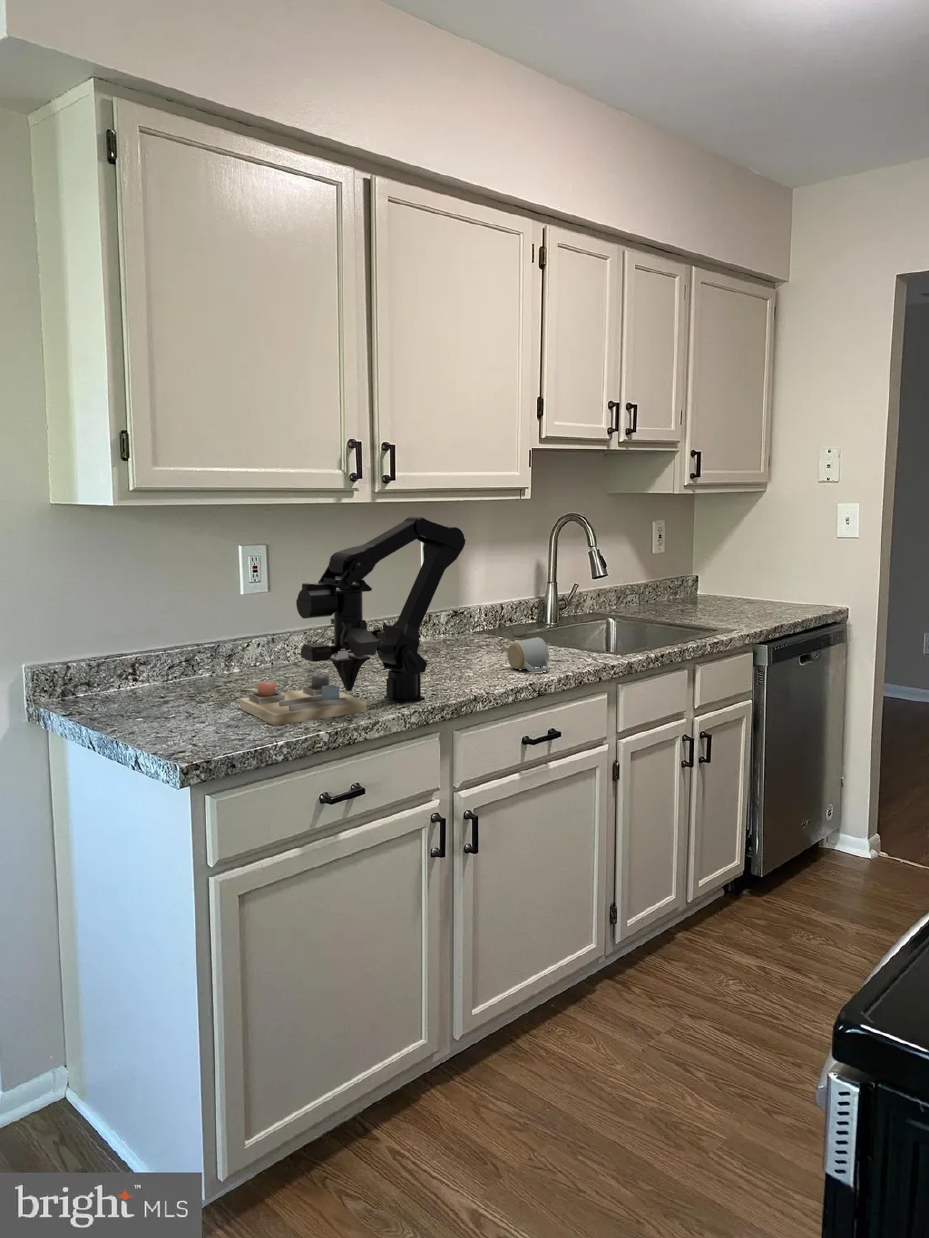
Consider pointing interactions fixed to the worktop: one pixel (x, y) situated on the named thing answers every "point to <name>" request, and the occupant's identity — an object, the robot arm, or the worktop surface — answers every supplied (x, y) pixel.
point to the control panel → (300, 706)
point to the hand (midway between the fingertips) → (348, 690)
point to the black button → (320, 680)
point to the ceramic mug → (529, 655)
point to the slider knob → (330, 692)
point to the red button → (266, 688)
